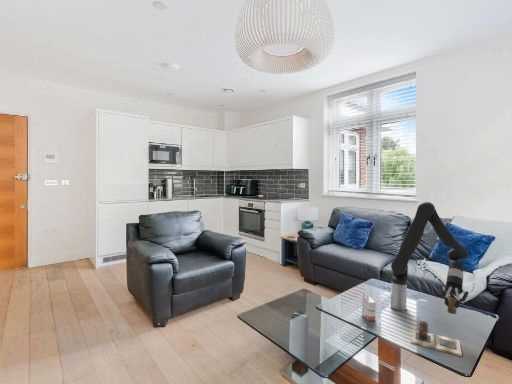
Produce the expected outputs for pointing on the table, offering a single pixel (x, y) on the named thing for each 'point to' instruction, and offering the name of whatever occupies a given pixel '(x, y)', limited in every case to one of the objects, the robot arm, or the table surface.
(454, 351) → the board
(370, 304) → the ink cartridge box
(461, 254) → the robot arm
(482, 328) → the table surface
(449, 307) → the walnut pin
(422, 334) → the pin
